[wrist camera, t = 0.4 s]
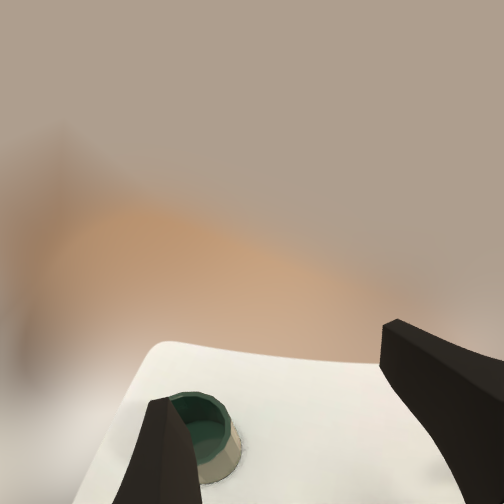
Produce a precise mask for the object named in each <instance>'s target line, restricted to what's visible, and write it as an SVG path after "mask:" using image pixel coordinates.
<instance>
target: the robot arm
mask: <svg viewBox="0 0 504 504" xmlns="http://www.w3.org/2000/svg"><path fill="white" fill-rule="evenodd" d="M382 330H383V331H382V344H381V355H380V365H379V367H380V369H381V370H382V372H383V374H384V375H385V377H386V379H387V380H388V382H389V384H390V385H391V387H392V388H393V390H394V391H395V392H396V394H397V395H398V396H399V397H400V399H401V400H402V401H403V402H404V404H405V405H406V406H407V407H408V408H409V410H410V411H411V412H412V413H413V415H414V416H415V417H416V418H417V419H418V421H419V422H420V423H421V424H422V426H423V427H424V428H425V429H426V431H427V432H428V433H429V435H430V436H431V437H432V439H433V441H434V442H435V444H436V445H437V447H438V449H439V450H440V452H441V454H442V455H443V457H444V459H445V461H446V463H447V464H448V466H449V468H450V470H451V472H452V474H453V476H454V478H455V480H456V482H457V484H458V486H459V489H460V491H461V493H462V496H463V498H464V501H465V503H466V504H503V503H504V361H502V360H498V359H494V358H491V357H487V356H484V355H481V354H478V353H476V352H473V351H470V350H467V349H465V348H462V347H460V346H457V345H455V344H452V343H450V342H447V341H446V340H443V339H441V338H439V337H437V336H434V335H432V334H430V333H428V332H425V331H423V330H421V329H419V328H417V327H415V326H413V325H410V324H408V323H406V322H404V321H401V320H399V319H395V320H393V321H391V322H389V323H387V324H384V325H383V329H382ZM112 504H202V498H201V491H200V483H199V476H198V468H197V460H196V456H195V451H194V447H193V443H192V439H191V435H190V431H189V430H188V428H187V427H186V425H185V424H184V422H183V420H182V419H181V417H180V416H179V414H178V412H177V411H176V409H175V407H174V406H173V404H172V402H171V401H170V399H169V397H165V398H161V399H156V400H151V401H150V402H149V403H148V407H147V410H146V414H145V417H144V420H143V424H142V427H141V430H140V433H139V437H138V440H137V443H136V446H135V448H134V451H133V454H132V457H131V460H130V463H129V465H128V468H127V470H126V473H125V475H124V478H123V481H122V483H121V486H120V488H119V490H118V492H117V495H116V497H115V499H114V501H113V503H112Z"/></svg>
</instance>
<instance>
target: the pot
mask: <svg viewBox="0 0 504 504" xmlns="http://www.w3.org/2000/svg"><path fill="white" fill-rule="evenodd" d="M169 399H170V401H171V402H172V404H173V406H174V407H175V409H176V411H177V412H178V414H179V416H180V417H181V419H182V420H183V422H184V424H185V425H186V427H187V428H188V430H189V431H190V435H191V439H192V443H193V447H194V451H195V456H196V460H197V468H198V476H199V483H200V484H208V483H213V482H217V481H219V480H221V479H223V478H225V477H226V476H228V475H229V474H230V473H231V472H232V471H233V470H234V469H235V467H236V466H237V464H238V462H239V460H240V456H241V441H240V438H239V436H238V434H237V431H236V429H235V427H234V425H233V422H232V420H231V418H230V416H229V414H228V412H227V410H226V408H225V406H224V405H223V404H222V403H220V402H219V401H218V400H217V399H215V398H214V397H213V396H210V395H207V394H204V393H201V392H181V393H178V394H175V395H172V396H170V397H169Z"/></svg>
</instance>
